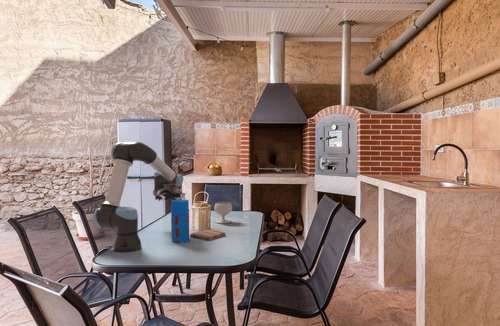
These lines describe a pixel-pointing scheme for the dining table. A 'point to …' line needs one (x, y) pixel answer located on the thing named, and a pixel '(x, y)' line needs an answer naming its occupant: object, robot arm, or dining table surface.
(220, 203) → the chalice
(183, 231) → the blue tower block
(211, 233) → the walnut board
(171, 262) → the dining table surface
